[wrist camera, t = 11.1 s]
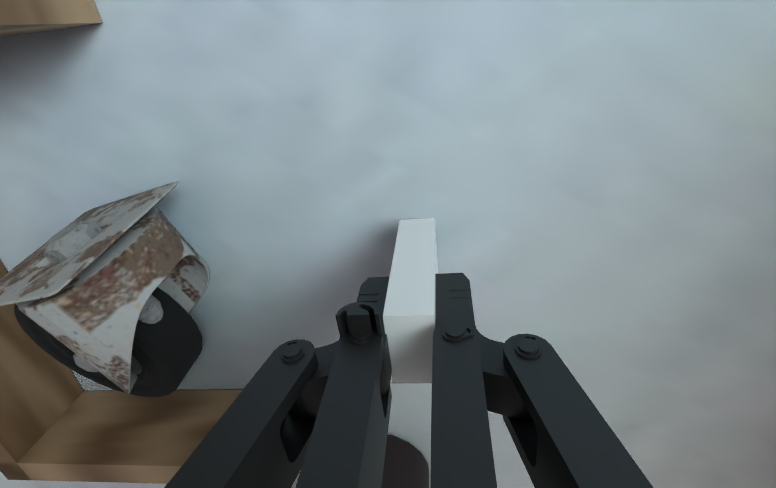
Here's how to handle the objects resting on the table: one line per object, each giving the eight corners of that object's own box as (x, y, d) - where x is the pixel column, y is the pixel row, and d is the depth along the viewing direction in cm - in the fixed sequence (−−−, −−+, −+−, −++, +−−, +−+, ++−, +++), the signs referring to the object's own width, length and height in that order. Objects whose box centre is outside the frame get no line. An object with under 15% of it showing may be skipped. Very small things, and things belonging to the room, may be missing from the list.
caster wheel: (158, 335, 28) (29, 218, 22) (293, 322, 23) (172, 169, 18) (81, 434, 23) (-108, 314, 17) (232, 443, 18) (38, 282, 13)
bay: (84, -23, 15) (-52, -38, 11) (250, 406, 26) (214, 484, 22) (-186, 19, 17) (-398, 21, 13) (74, 406, 28) (8, 479, 24)
